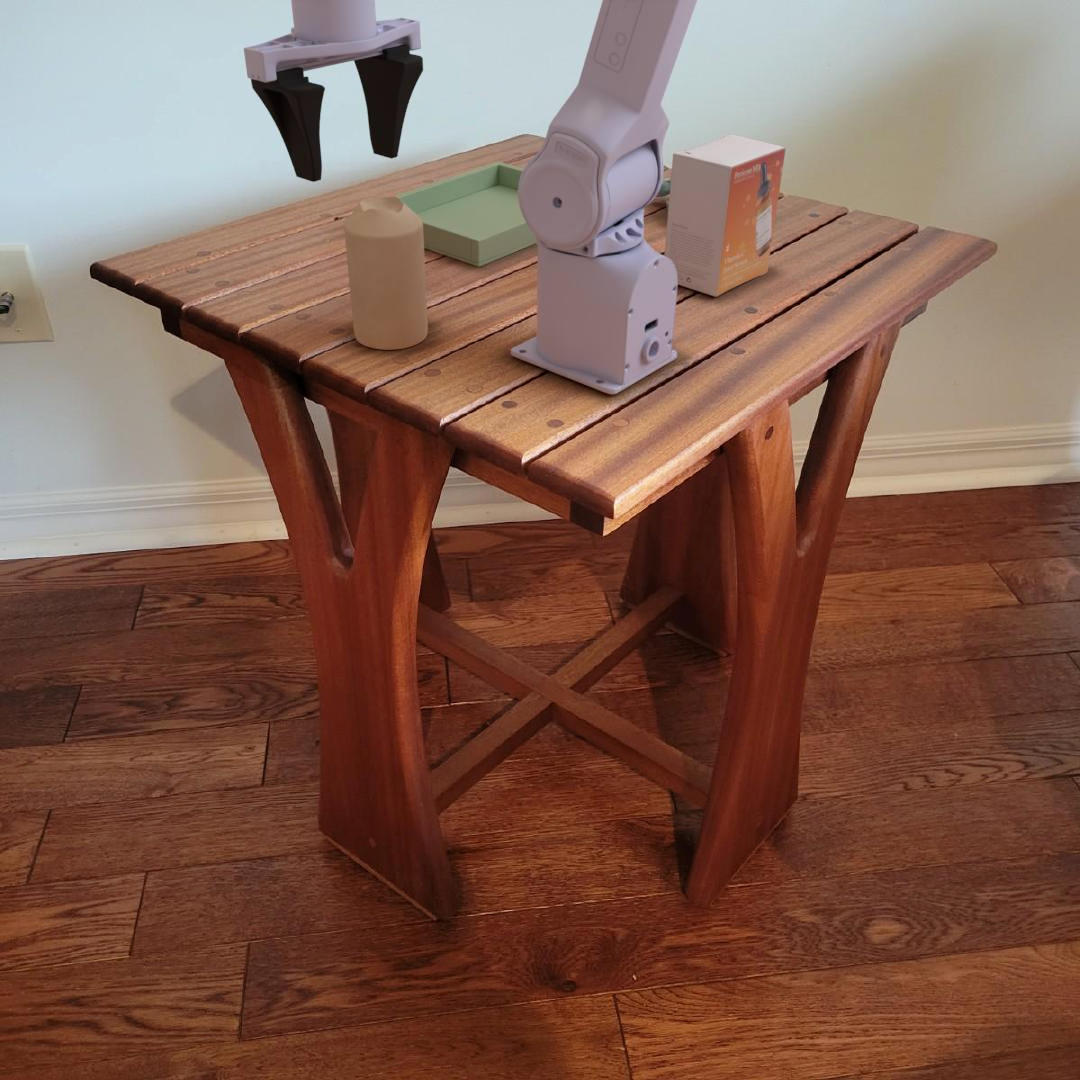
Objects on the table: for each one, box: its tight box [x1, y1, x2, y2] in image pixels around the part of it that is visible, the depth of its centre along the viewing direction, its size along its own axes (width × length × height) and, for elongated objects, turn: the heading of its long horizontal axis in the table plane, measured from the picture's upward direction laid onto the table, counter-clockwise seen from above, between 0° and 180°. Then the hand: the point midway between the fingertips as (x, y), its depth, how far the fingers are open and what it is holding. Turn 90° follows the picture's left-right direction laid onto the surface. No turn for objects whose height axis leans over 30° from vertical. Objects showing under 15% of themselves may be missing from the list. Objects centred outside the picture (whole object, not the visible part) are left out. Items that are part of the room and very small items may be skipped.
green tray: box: [391, 161, 536, 268], centre depth 101 cm, size 14×18×2 cm
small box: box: [663, 133, 786, 297], centre depth 89 cm, size 8×6×10 cm
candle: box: [343, 196, 429, 351], centre depth 79 cm, size 6×6×10 cm
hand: (348, 166), depth 82 cm, fingers open, 7 cm apart
